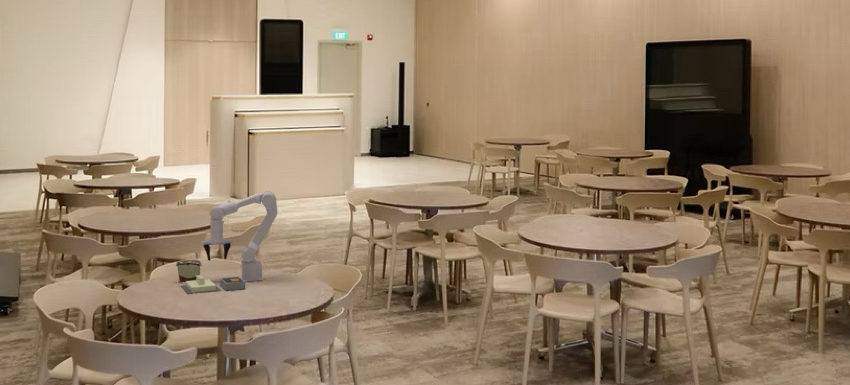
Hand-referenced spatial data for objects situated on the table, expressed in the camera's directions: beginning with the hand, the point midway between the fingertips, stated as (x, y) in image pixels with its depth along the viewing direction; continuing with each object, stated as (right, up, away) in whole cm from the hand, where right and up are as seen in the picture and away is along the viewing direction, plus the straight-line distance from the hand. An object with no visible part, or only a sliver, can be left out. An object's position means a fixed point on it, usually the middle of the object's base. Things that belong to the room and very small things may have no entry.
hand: (217, 259), depth 445 cm
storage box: (+10, -12, -13) cm, 20 cm away
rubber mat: (-4, -12, -15) cm, 20 cm away
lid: (-4, -12, -15) cm, 20 cm away
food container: (-13, -11, +1) cm, 17 cm away
